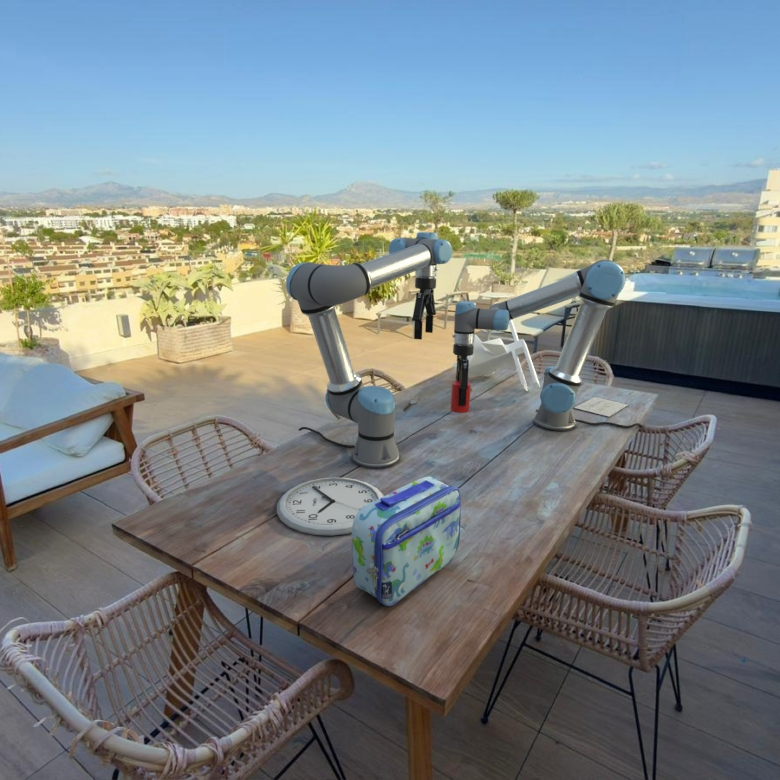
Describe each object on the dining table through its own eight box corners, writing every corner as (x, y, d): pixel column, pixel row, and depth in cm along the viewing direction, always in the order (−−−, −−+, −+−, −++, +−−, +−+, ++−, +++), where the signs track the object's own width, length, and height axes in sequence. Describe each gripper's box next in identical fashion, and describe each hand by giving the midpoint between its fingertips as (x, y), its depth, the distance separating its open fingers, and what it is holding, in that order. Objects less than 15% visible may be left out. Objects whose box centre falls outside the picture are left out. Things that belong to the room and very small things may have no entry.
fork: (400, 411, 216) (400, 406, 215) (412, 399, 230) (412, 395, 230) (406, 412, 215) (406, 407, 215) (418, 400, 230) (418, 396, 229)
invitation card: (608, 416, 214) (573, 407, 224) (608, 416, 214) (573, 408, 224) (628, 404, 229) (594, 396, 238) (628, 405, 229) (594, 397, 238)
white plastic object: (474, 420, 264) (452, 397, 239) (456, 347, 286) (434, 319, 261) (545, 396, 252) (530, 369, 227) (521, 322, 274) (504, 290, 249)
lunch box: (381, 619, 101) (382, 525, 95) (345, 592, 109) (344, 503, 102) (464, 563, 119) (469, 480, 113) (428, 543, 126) (432, 464, 120)
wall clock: (392, 527, 129) (268, 531, 127) (391, 533, 130) (269, 537, 127) (383, 473, 158) (282, 475, 155) (383, 478, 158) (282, 480, 156)
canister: (457, 414, 197) (458, 386, 194) (447, 408, 204) (448, 381, 200) (472, 411, 200) (474, 384, 197) (462, 405, 207) (463, 379, 203)
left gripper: (425, 280, 174) (423, 343, 181) (445, 275, 197) (442, 330, 203) (404, 279, 177) (402, 341, 183) (426, 274, 199) (423, 329, 205)
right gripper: (450, 338, 204) (447, 394, 211) (456, 349, 185) (453, 410, 191) (469, 338, 204) (466, 394, 211) (478, 349, 185) (474, 411, 191)
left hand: (423, 335), depth 193 cm, fingers open, 13 cm apart
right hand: (460, 402), depth 201 cm, fingers closed on canister, 7 cm apart
